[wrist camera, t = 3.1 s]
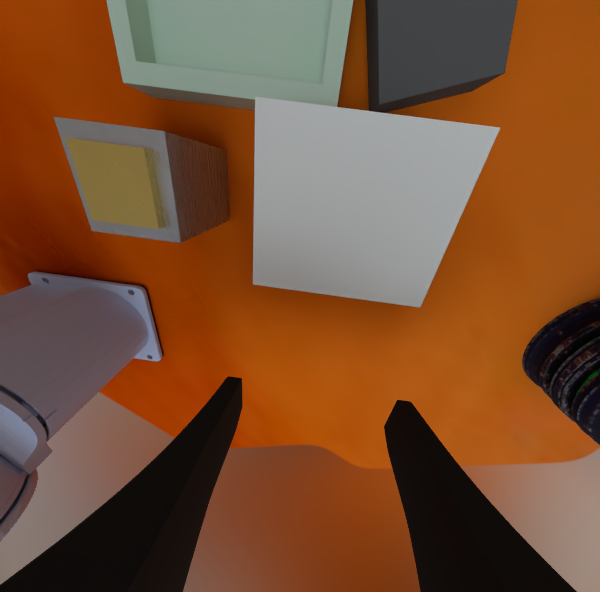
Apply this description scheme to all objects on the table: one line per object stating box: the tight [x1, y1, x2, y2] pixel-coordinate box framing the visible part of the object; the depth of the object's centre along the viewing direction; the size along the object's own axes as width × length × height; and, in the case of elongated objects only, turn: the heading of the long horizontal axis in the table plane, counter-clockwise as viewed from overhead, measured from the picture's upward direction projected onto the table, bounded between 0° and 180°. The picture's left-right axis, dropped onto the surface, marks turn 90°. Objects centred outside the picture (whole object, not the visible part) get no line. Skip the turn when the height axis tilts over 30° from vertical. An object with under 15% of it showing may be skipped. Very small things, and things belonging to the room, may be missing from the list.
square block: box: [366, 0, 518, 113], centre depth 9 cm, size 5×5×2 cm
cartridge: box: [54, 117, 230, 243], centre depth 11 cm, size 4×4×6 cm
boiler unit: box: [253, 97, 500, 307], centre depth 11 cm, size 8×6×7 cm
